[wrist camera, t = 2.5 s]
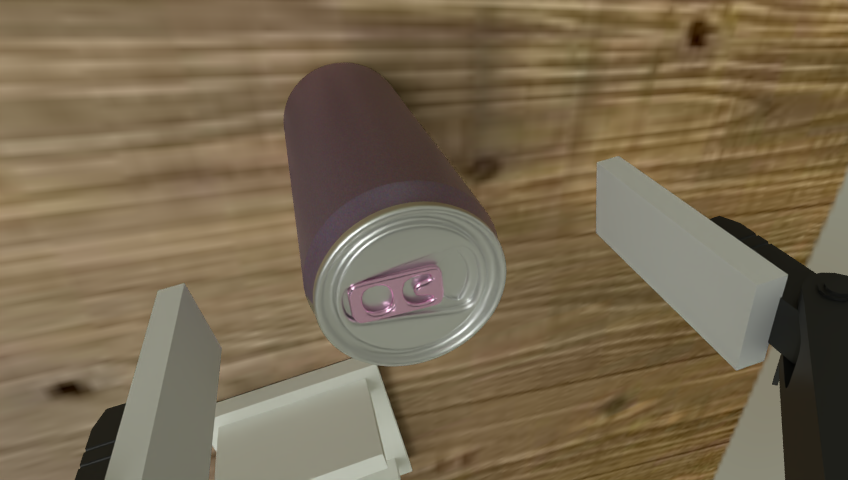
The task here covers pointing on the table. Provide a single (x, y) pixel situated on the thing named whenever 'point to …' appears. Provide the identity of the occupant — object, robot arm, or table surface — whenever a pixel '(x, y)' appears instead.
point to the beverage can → (384, 224)
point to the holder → (312, 429)
